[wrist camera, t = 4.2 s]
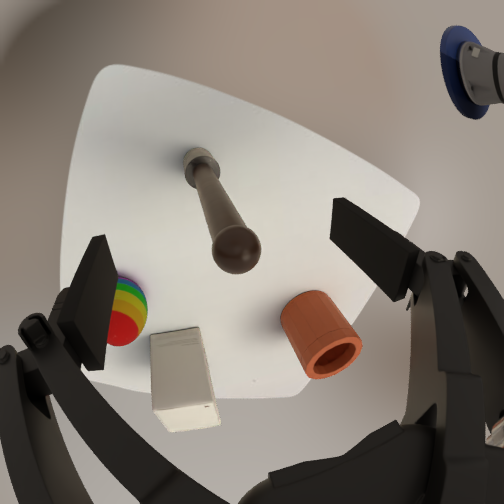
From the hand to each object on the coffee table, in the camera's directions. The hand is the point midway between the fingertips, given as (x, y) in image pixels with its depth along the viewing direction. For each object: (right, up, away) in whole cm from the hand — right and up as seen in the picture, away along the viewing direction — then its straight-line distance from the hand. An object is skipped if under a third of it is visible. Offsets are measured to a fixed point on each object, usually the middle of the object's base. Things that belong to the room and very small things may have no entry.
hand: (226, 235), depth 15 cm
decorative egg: (-18, -7, +23) cm, 30 cm away
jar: (+11, -12, +35) cm, 39 cm away
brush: (-5, +10, +17) cm, 20 cm away
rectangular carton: (-12, -18, +31) cm, 38 cm away
